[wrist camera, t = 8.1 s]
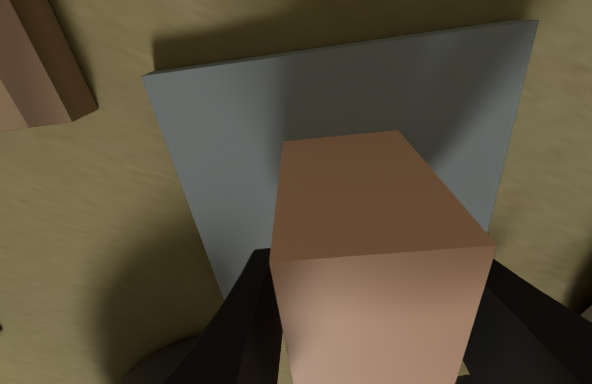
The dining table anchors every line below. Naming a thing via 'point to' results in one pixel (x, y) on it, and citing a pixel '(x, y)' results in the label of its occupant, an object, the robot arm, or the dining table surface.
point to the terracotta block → (373, 263)
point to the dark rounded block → (159, 364)
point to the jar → (587, 314)
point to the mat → (338, 121)
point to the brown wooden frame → (38, 69)
